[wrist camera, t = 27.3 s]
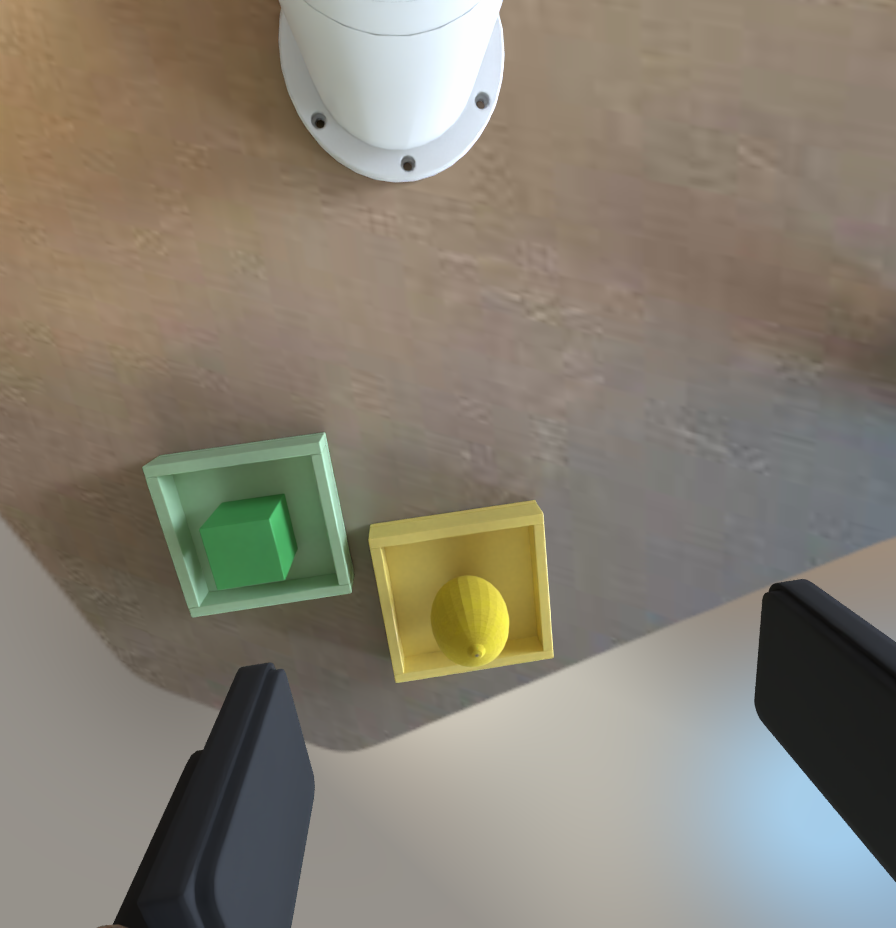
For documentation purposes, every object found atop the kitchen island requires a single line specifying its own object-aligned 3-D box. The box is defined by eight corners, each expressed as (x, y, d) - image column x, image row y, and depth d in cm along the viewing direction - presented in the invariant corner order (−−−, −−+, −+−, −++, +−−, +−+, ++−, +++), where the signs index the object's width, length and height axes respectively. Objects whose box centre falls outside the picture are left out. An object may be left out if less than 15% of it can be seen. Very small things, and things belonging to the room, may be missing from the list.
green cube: (221, 502, 37) (197, 529, 33) (284, 492, 38) (269, 518, 33) (237, 557, 39) (216, 590, 35) (298, 548, 39) (285, 580, 35)
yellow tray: (370, 523, 39) (367, 539, 37) (534, 499, 40) (543, 513, 37) (396, 661, 43) (395, 683, 41) (545, 637, 44) (553, 658, 42)
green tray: (158, 455, 37) (141, 467, 34) (325, 431, 37) (319, 441, 35) (204, 598, 40) (191, 618, 38) (354, 575, 41) (351, 593, 38)
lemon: (423, 615, 42) (428, 687, 34) (433, 553, 40) (441, 614, 32) (491, 621, 42) (510, 693, 35) (504, 560, 41) (527, 622, 33)
